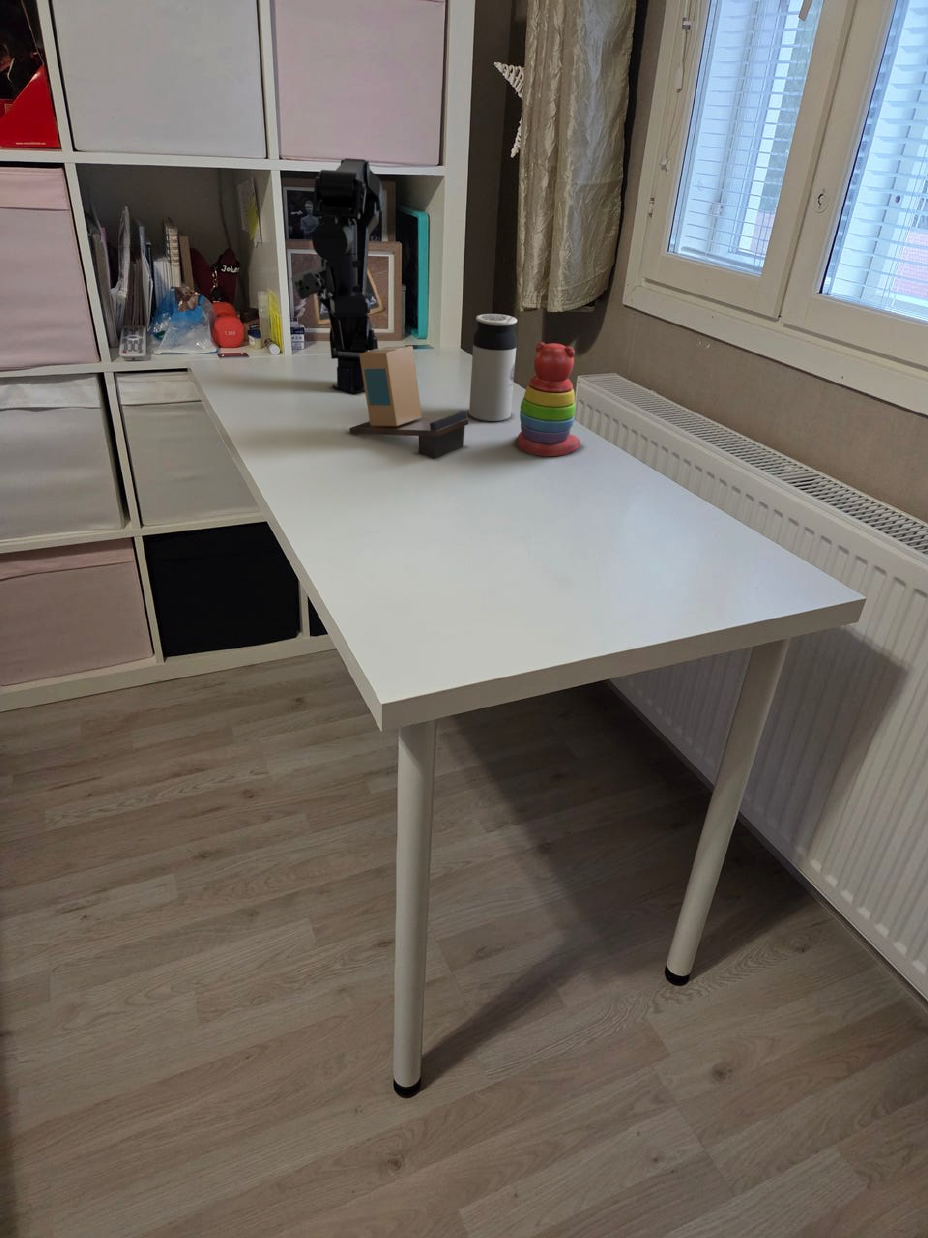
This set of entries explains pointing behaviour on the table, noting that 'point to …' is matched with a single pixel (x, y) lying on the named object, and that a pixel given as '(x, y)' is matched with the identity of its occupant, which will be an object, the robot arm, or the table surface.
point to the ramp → (425, 433)
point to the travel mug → (493, 367)
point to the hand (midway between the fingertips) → (342, 344)
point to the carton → (391, 386)
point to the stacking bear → (549, 404)
